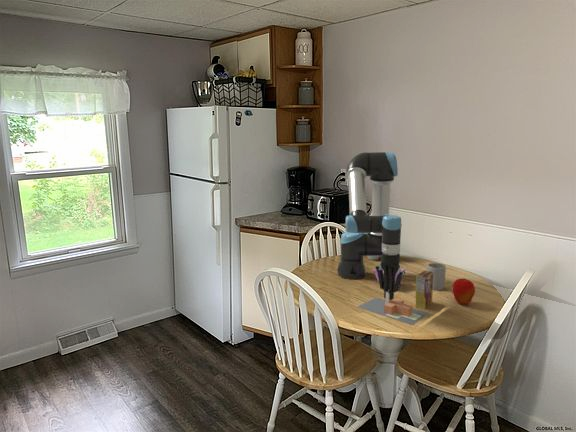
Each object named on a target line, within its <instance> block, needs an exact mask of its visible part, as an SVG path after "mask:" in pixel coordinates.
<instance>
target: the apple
mask: <svg viewBox="0 0 576 432" xmlns="http://www.w3.org/2000/svg"><path fill="white" fill-rule="evenodd" d="M475 291H476V287H475V285H474V283H473V282H472V281H471V280H470V279H467V278H458V279H456V280H454V282H453V284H452V294H453V297H454V300H455V301H456V302H457V303H458V304H459V305H461V306H464V305H465V306H466V305H468V304H469V303H470V302H471V301H472V299H473V298H474V296H475Z"/></svg>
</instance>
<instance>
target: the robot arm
mask: <svg viewBox="0 0 576 432" xmlns="http://www.w3.org/2000/svg"><path fill="white" fill-rule="evenodd" d="M398 169H399V168H398V160H397V157H396V154H395V153H394V152H389V151H388V152H387V151H381V152H380V151H379V152H361V153H358V154H356V155H354V156H353V157H352V158H351V159H350V161H349V162H348V164H347V167H346V170H345V177H346V179H347V180H348V202H349V203H348V204H349V205H348V206H349V215H346V216H345V232H343V233H342V234H341V237H340V261H339V263H338V267H337V270H336V271H337V273H336V275H337V274H338V275H339V276H338V275H337V276H338V277H340V276H341V277H340V278H342V277H344V279H347V278H348V280H357V279H358V280H359V279H362V278H365V277H366V276H367V271H366V267H365V264H364V257H367V256H380V257H381V258H380V260H381V262H380V264H378V265H376V266H375V270H376V271H377V273H378V278H379V282H378V284H379V288H380V290H383V292H384V293H383V298H384V299H385V300H386V301H385V304H387V303H389V302H390V301H392V300H394V299H395V293H396V292H398V291H399V289H400V287H401V286H400V283H401V284H402V279H403V277H404V275H405V274H406V272H405V271H406V270H405V271H402V269H401V266H400V259H401V258H400V257H401V254H400V253H401V237H402V235H401V234H402V227H403V226H402V218H401V216H399V215H396V214H390V202H391V201H390V200H391V199H390V198H391V197H390V196H391V183H393V182H394V180H395V177H398V173H399V171H398ZM366 177H369V180H370V181H371V183H372V200H371V212H372V216H370V215H367V213H368V211H367V200H366V198H367V196H366V184H365V183H366V181H365V179H366ZM364 233H368V234H364ZM382 269H383V270H382ZM383 271H384V274H383ZM397 271H398V276H397V278H396V282H395V276H396V273H397Z"/></svg>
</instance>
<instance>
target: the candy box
mask: <svg viewBox="0 0 576 432" xmlns="http://www.w3.org/2000/svg"><path fill="white" fill-rule="evenodd" d="M415 279H416V280H415V283H416V284H415V307H416V308H418V309H422V310H425V309H426V308H428V307H429V306H431V305H432V304H433V291H434V290H433V272H431V271H427V269H426V270H423V271H422V272H420V273H418V274H417V275H416V278H415Z"/></svg>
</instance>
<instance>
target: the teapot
mask: <svg viewBox="0 0 576 432" xmlns="http://www.w3.org/2000/svg"><path fill="white" fill-rule="evenodd" d="M382 270H383V269H382ZM401 270H402V271H406V270H408V268H407V267H404V268H402V269H401ZM371 271H373V272H374V274H375V277H376V279H377V280H376V281H377V283H379V278H378V273H377V270H376V269H371ZM383 274H384V271H383ZM397 276H398V271H397V273H396V276H395V282H396V278H397ZM401 286H402V282H401V283H400V286H399V287H401Z"/></svg>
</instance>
